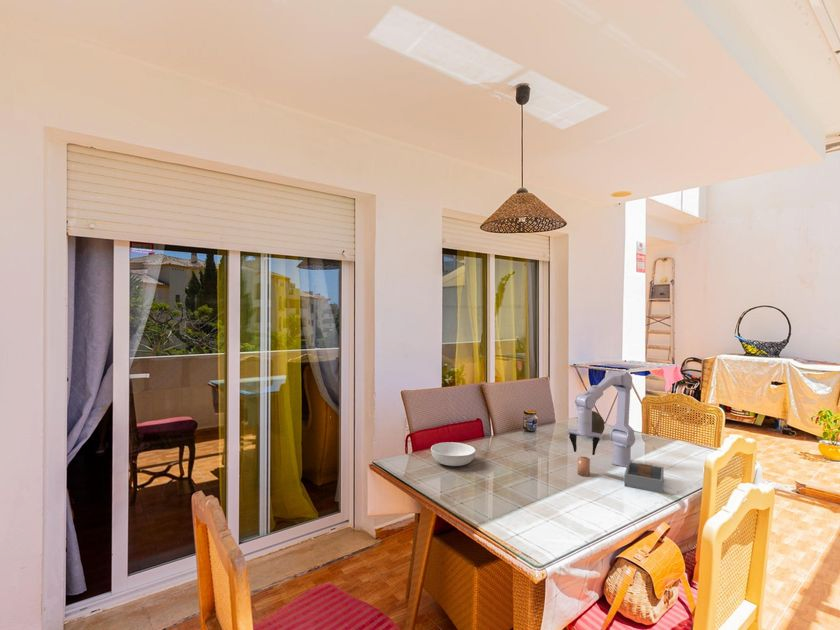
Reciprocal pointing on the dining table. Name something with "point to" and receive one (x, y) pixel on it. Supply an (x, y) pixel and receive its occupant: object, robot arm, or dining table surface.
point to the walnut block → (645, 470)
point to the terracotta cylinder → (583, 466)
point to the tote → (644, 478)
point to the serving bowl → (453, 453)
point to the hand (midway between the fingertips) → (584, 452)
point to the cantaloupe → (597, 423)
